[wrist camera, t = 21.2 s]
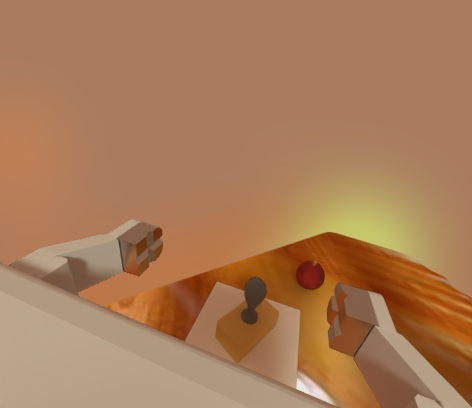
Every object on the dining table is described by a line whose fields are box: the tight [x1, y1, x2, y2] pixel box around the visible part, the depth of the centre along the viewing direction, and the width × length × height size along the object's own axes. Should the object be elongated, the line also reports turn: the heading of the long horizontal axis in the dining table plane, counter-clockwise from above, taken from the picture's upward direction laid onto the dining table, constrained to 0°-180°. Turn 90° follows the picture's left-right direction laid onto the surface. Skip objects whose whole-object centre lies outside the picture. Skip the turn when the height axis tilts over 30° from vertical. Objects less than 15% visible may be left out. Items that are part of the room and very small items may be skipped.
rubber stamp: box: [215, 277, 279, 363], centre depth 35 cm, size 10×6×12 cm, turn 133°
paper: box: [185, 282, 300, 389], centre depth 38 cm, size 18×16×1 cm
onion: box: [296, 260, 325, 290], centre depth 47 cm, size 6×6×8 cm
